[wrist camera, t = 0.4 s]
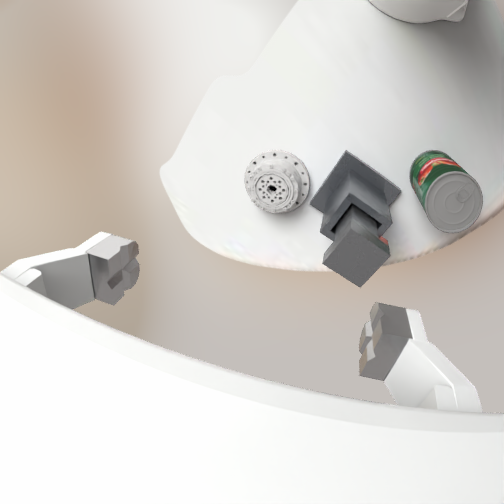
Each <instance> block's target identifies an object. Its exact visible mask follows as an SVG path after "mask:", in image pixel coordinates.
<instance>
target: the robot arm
mask: <svg viewBox="0 0 504 504" xmlns="http://www.w3.org/2000/svg"><path fill="white" fill-rule="evenodd" d="M369 1H370V2H371V3H372V4H373V5H374V6H375V7H376V8H378V9H379V10H381V11H382V12H384V13H385V14H387V15H389V16H391V17H393V18H396V19H399V20H402V21H406V22H411V23H427V22H432V21H436V20H442V19H443V20H448V21H453V22H459V21H461V20H462V19H463V18H464V15H465V12H466V8H467V5H468V1H469V0H369ZM138 254H139V251H138V244H137V243H136V241H133V240H129V239H126V238H123V237H119V236H116V235H113V234H109V233H105V232H100V233H98V234H96V235H95V236H93V237H92V238H90V239H88V240H87V241H85V242H84V243H83V244H81V245H79V246H78V247H76V248H75V249H73V248H69V249H64V250H60V251H56V252H51V253H46V254H42V255H37V256H33V257H29V258H25V259H20V260H17V261H16V262H14V263H13V264H11V265H10V266H8V267H7V268H5V269H4V270H3V271H2V272H0V504H504V413H483V412H482V408H481V404H480V401H479V397H478V394H477V390H476V388H475V387H474V386H473V384H472V383H471V382H470V381H469V380H468V379H467V378H466V377H465V376H464V375H463V374H462V373H461V372H460V371H459V370H458V369H457V368H456V367H455V366H454V365H453V364H452V363H451V362H450V361H449V360H448V359H447V358H446V356H444V355H443V354H442V353H441V351H440V350H439V349H438V348H437V347H435V345H434V344H433V343H429V342H428V340H427V336H426V333H425V329H424V326H423V323H422V319H421V316H420V313H419V311H417V310H413V309H407V308H402V307H397V306H392V305H387V304H382V303H377V302H375V304H374V306H373V307H372V309H371V312H370V317H371V320H370V321H368V322H367V323H365V326H364V328H363V330H362V334H361V337H360V344H359V351H360V352H361V354H362V356H361V358H360V360H359V368H360V376H363V377H368V378H372V379H378V380H383V381H384V383H385V385H386V387H387V388H388V390H389V392H390V393H391V395H392V397H393V398H394V400H395V402H396V403H397V405H392V404H385V403H378V402H372V401H366V400H359V399H354V398H348V397H343V396H338V395H332V394H327V393H322V392H318V391H313V390H308V389H304V388H300V387H295V386H291V385H287V384H283V383H279V382H275V381H271V380H267V379H263V378H259V377H256V376H252V375H248V374H245V373H241V372H238V371H234V370H231V369H228V368H224V367H221V366H218V365H214V364H211V363H208V362H205V361H202V360H199V359H196V358H193V357H190V356H187V355H184V354H181V353H177V352H175V351H172V350H169V349H167V348H164V347H161V346H158V345H156V344H153V343H150V342H148V341H145V340H142V339H140V338H137V337H135V336H132V335H130V334H127V333H124V332H122V331H120V330H117V329H115V328H112V327H110V326H108V325H105V324H103V323H100V322H98V321H96V320H94V319H92V318H89V317H87V316H85V315H83V314H80V313H78V312H76V311H74V310H72V309H74V308H77V307H79V306H82V305H84V304H86V303H88V302H91V301H93V300H95V299H97V300H100V301H103V302H106V303H108V304H111V305H115V304H116V303H117V302H118V301H119V300H120V299H121V298H122V297H123V296H124V290H128V289H131V288H132V287H133V286H134V285H135V283H136V281H137V279H138V276H139V271H140V270H139V263H138V261H137V260H136V256H137V255H138Z"/></svg>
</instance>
